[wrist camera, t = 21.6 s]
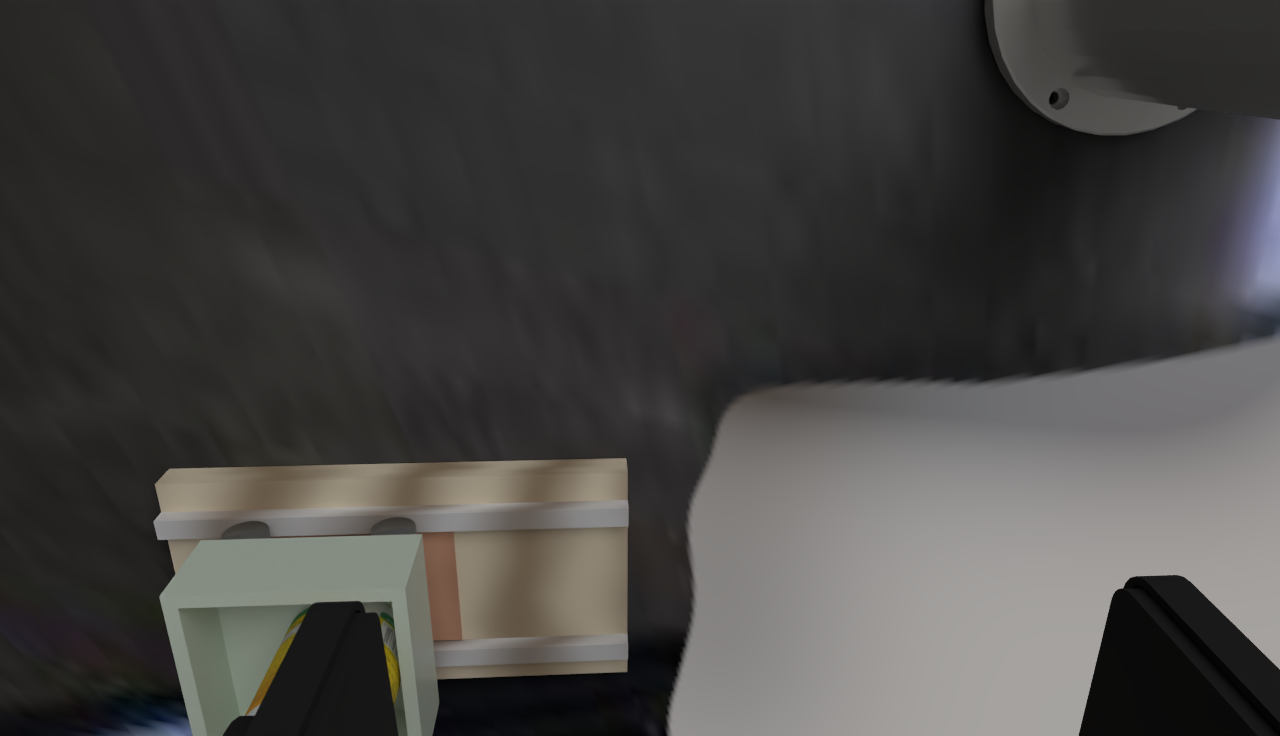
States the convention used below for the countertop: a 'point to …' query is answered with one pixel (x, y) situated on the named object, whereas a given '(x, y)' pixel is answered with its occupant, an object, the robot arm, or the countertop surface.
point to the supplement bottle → (377, 607)
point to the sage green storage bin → (293, 613)
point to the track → (455, 547)
